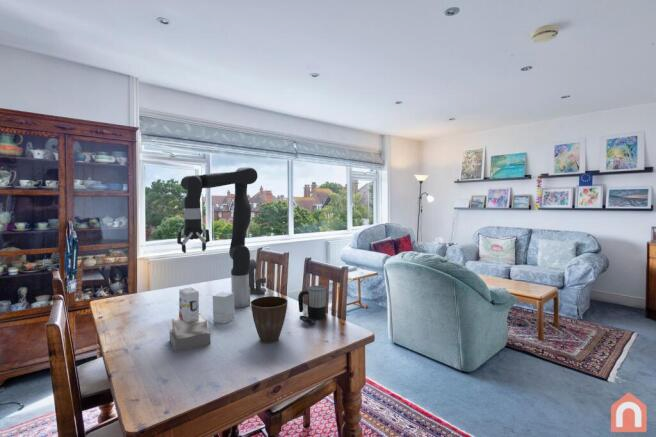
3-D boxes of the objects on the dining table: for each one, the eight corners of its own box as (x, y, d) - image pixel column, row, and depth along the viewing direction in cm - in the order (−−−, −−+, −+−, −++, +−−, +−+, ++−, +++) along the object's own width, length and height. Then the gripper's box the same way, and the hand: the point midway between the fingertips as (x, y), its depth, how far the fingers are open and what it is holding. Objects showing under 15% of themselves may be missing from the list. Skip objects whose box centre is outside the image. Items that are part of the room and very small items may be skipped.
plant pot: (294, 335, 141) (294, 298, 140) (275, 350, 127) (274, 309, 126) (265, 330, 147) (264, 294, 146) (243, 343, 133) (242, 304, 133)
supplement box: (235, 318, 162) (234, 292, 161) (225, 323, 155) (225, 297, 154) (222, 316, 164) (221, 291, 163) (212, 321, 157) (212, 295, 156)
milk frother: (324, 313, 168) (324, 284, 168) (331, 325, 153) (331, 293, 152) (296, 315, 165) (296, 286, 165) (300, 327, 150) (300, 295, 149)
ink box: (178, 317, 136) (177, 289, 135) (191, 314, 139) (190, 287, 138) (187, 323, 129) (186, 293, 129) (199, 320, 133) (199, 291, 132)
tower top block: (200, 324, 142) (200, 313, 141) (207, 333, 132) (206, 320, 132) (172, 330, 136) (172, 318, 135) (177, 339, 126) (176, 326, 126)
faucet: (268, 287, 219) (267, 257, 217) (265, 294, 203) (264, 261, 202) (240, 287, 218) (239, 257, 216) (234, 294, 202) (234, 262, 201)
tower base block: (202, 334, 144) (202, 322, 144) (210, 345, 133) (210, 332, 133) (169, 341, 137) (169, 329, 136) (175, 353, 126) (174, 340, 126)
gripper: (206, 217, 165) (207, 249, 166) (175, 218, 157) (176, 252, 158) (210, 217, 158) (211, 251, 160) (178, 219, 150) (179, 254, 151)
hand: (194, 251), depth 159 cm, fingers open, 8 cm apart
